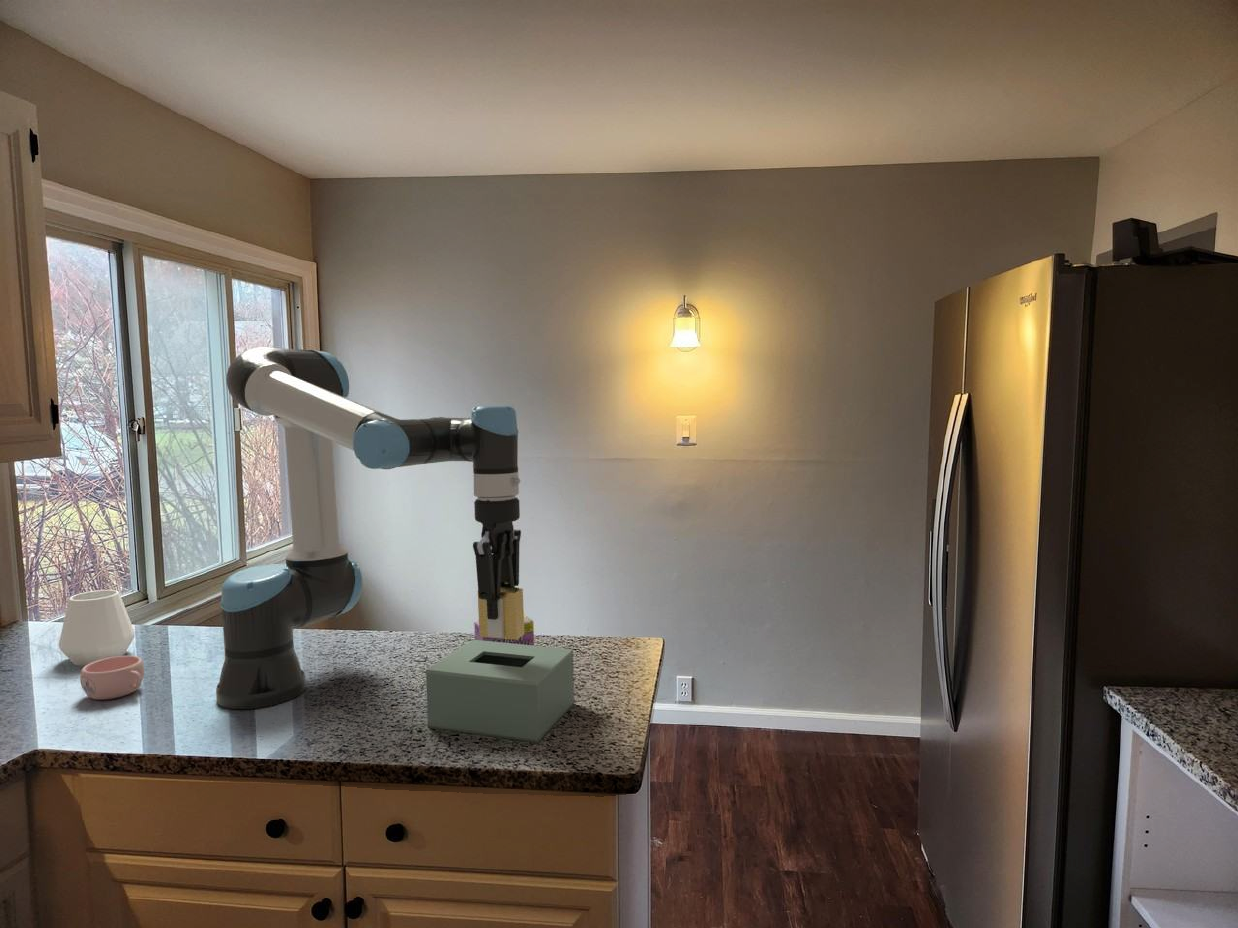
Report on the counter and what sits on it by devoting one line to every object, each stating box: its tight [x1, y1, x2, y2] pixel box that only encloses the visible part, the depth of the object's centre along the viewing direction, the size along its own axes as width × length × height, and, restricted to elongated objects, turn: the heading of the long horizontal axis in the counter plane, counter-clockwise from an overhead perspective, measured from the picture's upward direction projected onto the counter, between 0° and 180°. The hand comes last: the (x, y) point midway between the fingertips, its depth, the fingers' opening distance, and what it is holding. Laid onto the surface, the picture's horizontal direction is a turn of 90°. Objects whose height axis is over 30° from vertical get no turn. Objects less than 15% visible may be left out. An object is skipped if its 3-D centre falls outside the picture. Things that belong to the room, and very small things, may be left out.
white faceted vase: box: [58, 589, 136, 667], centre depth 160 cm, size 13×13×14 cm
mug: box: [79, 655, 145, 700], centre depth 140 cm, size 12×10×6 cm
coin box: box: [425, 639, 575, 744], centre depth 129 cm, size 20×16×10 cm
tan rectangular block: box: [477, 587, 525, 640], centre depth 128 cm, size 7×3×8 cm, turn 72°
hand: (500, 633), depth 128 cm, fingers closed on tan rectangular block, 3 cm apart
